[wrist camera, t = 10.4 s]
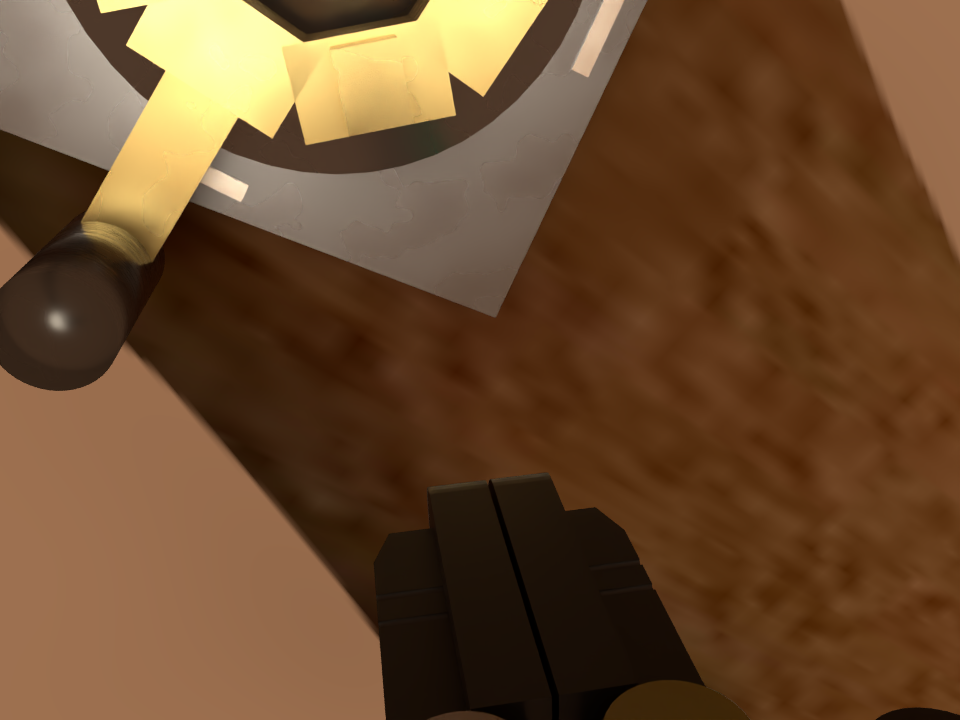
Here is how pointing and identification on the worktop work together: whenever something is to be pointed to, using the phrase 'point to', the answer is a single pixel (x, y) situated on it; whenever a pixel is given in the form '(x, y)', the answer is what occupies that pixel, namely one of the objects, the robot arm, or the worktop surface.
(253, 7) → the gold notched piece
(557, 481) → the worktop surface
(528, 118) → the bearing housing
